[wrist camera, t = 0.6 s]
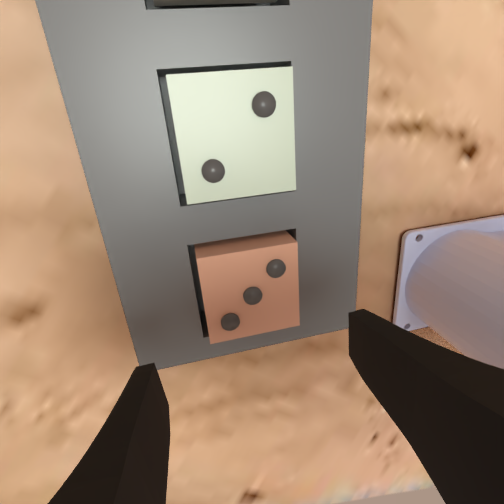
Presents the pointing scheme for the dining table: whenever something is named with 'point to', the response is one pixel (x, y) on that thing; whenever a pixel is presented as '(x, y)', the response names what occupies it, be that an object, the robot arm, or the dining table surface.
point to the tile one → (206, 2)
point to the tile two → (234, 132)
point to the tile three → (249, 284)
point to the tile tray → (168, 162)
